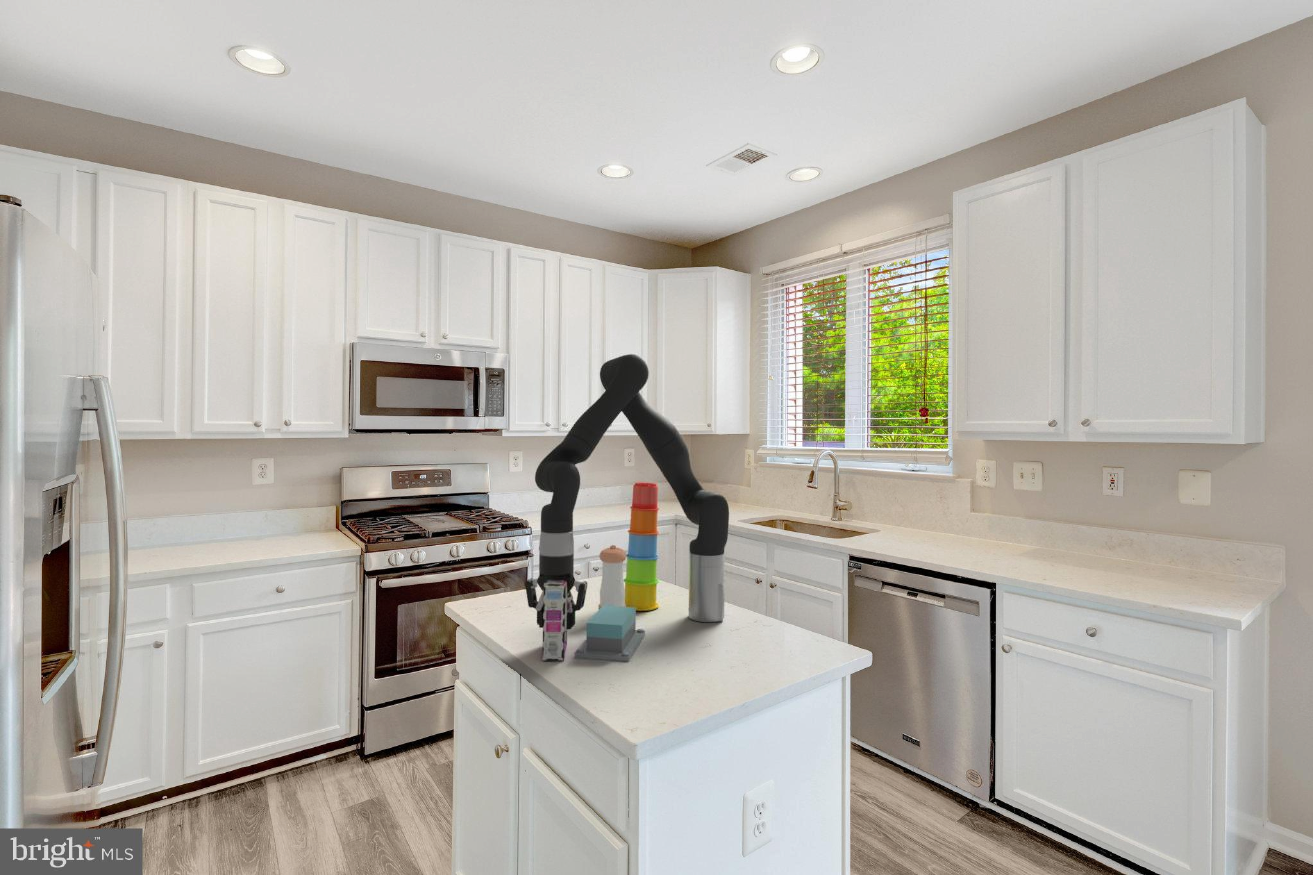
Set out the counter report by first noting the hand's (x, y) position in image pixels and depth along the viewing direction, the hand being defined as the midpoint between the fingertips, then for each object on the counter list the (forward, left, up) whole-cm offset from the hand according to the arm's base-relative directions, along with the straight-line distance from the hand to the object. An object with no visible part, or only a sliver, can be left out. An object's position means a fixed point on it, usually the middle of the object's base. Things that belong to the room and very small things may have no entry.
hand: (555, 627), depth 138 cm
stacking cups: (-11, -39, -6) cm, 41 cm away
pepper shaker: (-6, -27, -6) cm, 28 cm away
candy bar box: (0, 0, -6) cm, 6 cm away
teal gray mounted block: (-11, -7, -6) cm, 14 cm away
